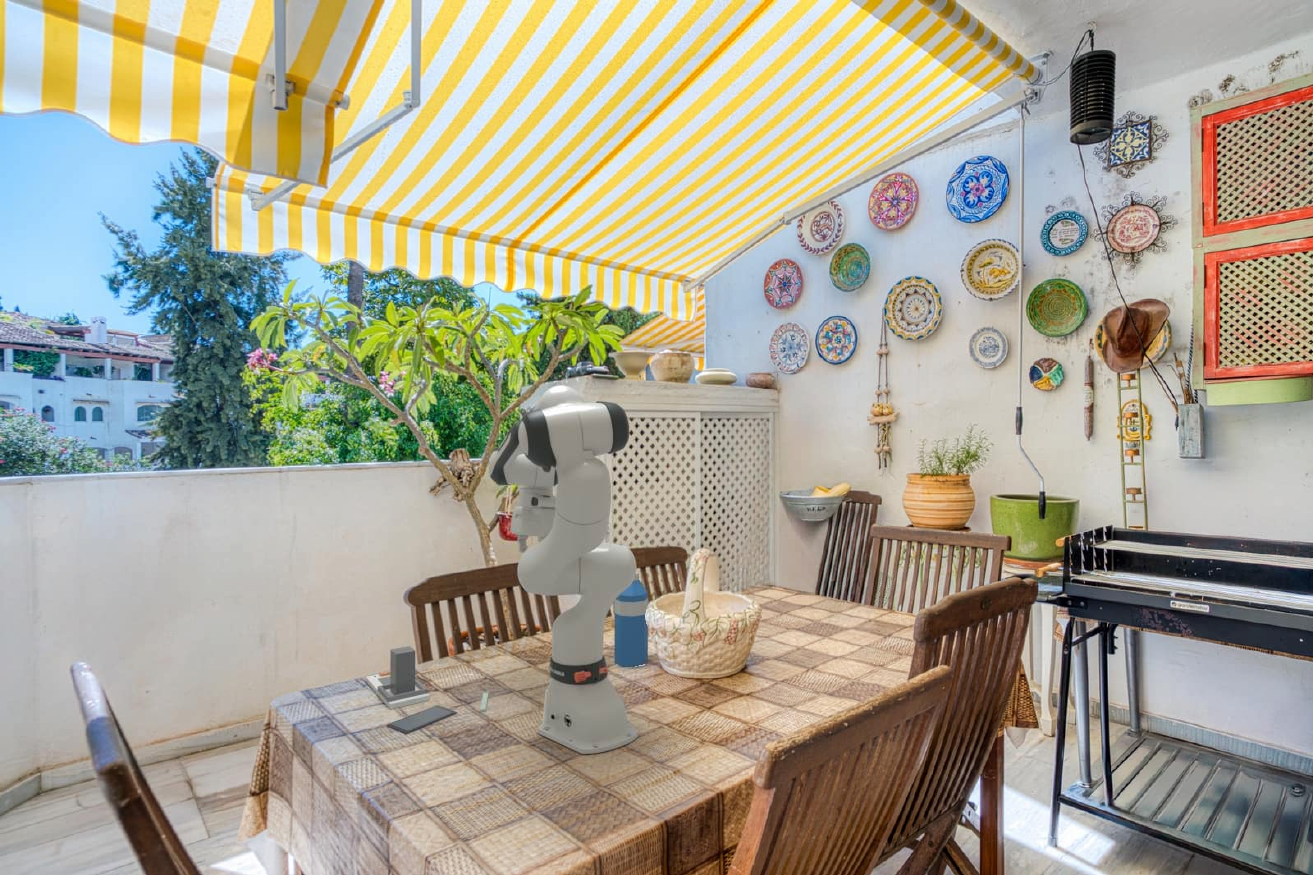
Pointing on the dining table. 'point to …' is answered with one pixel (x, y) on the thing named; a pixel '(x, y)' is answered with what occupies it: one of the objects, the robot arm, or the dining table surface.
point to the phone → (421, 719)
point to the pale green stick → (484, 702)
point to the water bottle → (631, 626)
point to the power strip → (395, 701)
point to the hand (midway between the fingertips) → (531, 553)
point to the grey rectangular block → (402, 670)
